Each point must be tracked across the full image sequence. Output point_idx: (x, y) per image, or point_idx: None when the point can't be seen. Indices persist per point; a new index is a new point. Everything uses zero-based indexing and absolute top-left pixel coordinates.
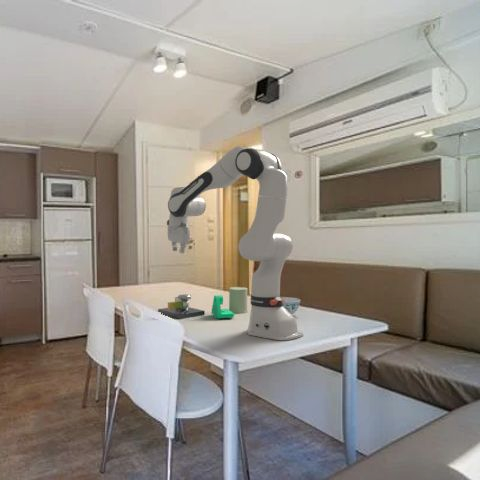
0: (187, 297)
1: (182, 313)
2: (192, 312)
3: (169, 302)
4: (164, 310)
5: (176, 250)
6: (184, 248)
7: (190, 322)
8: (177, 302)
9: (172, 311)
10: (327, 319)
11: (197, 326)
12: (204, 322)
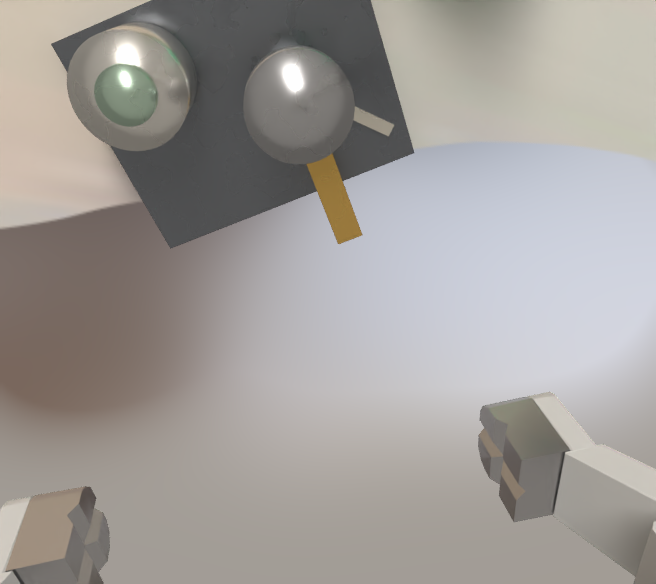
0: (353, 97)
1: (391, 130)
2: (373, 44)
3: (339, 232)
4: (234, 218)
5: (90, 497)
6: (631, 464)
7: (523, 105)
8: (338, 172)
9: (287, 176)
10: None
11: (638, 95)
12: (570, 14)
